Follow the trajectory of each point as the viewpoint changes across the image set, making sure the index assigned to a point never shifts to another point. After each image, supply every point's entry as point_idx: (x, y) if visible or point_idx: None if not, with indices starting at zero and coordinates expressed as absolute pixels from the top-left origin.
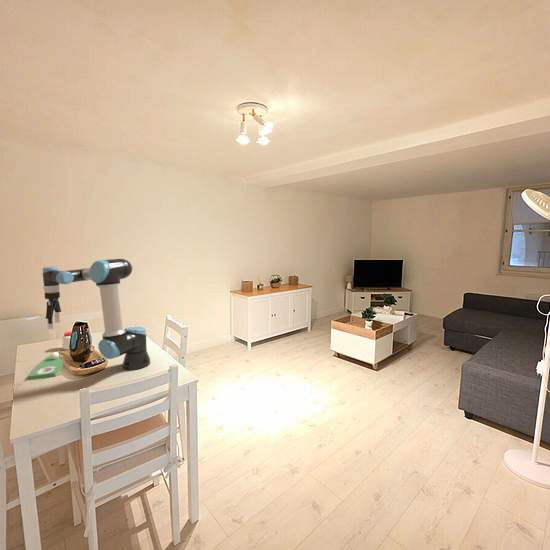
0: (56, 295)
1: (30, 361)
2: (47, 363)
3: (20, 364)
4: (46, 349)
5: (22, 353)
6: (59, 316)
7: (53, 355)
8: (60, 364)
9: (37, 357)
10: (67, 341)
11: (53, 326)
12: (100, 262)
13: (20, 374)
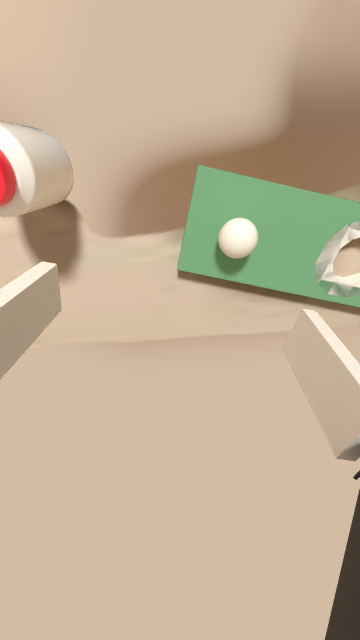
0: None
1: (166, 314)
2: (276, 260)
3: (182, 337)
4: None
5: (62, 343)
6: (10, 304)
7: (256, 244)
8: (339, 203)
9: (130, 298)
10: (48, 181)
11: (327, 325)
12: None
13: (287, 328)
